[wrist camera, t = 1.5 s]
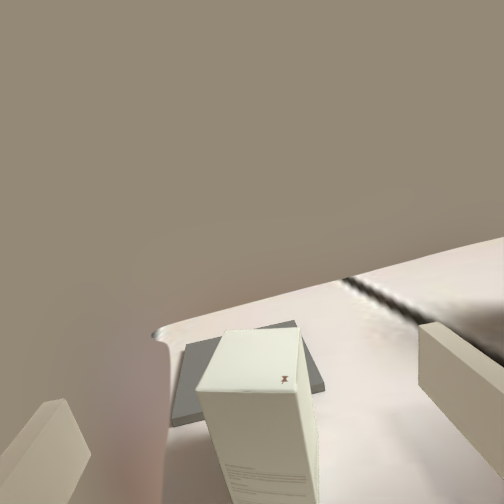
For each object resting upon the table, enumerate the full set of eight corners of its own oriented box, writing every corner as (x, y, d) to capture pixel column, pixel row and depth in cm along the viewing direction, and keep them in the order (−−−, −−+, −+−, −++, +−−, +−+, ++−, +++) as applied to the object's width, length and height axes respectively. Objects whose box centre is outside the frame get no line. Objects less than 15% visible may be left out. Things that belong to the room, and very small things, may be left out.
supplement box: (319, 431, 28) (303, 324, 24) (320, 522, 21) (297, 393, 17) (249, 427, 30) (224, 327, 26) (229, 508, 23) (191, 390, 19)
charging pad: (295, 326, 46) (293, 319, 45) (325, 390, 32) (323, 381, 32) (188, 350, 45) (185, 343, 45) (173, 427, 32) (170, 418, 31)
